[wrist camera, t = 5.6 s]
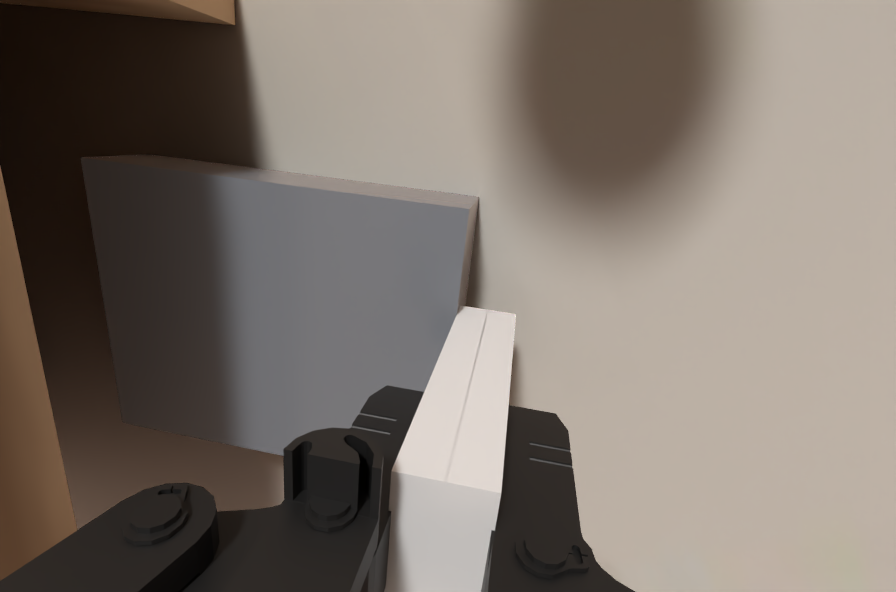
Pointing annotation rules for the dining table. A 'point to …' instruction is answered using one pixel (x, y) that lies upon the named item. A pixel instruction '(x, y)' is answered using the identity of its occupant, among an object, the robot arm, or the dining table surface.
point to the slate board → (269, 293)
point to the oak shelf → (19, 362)
